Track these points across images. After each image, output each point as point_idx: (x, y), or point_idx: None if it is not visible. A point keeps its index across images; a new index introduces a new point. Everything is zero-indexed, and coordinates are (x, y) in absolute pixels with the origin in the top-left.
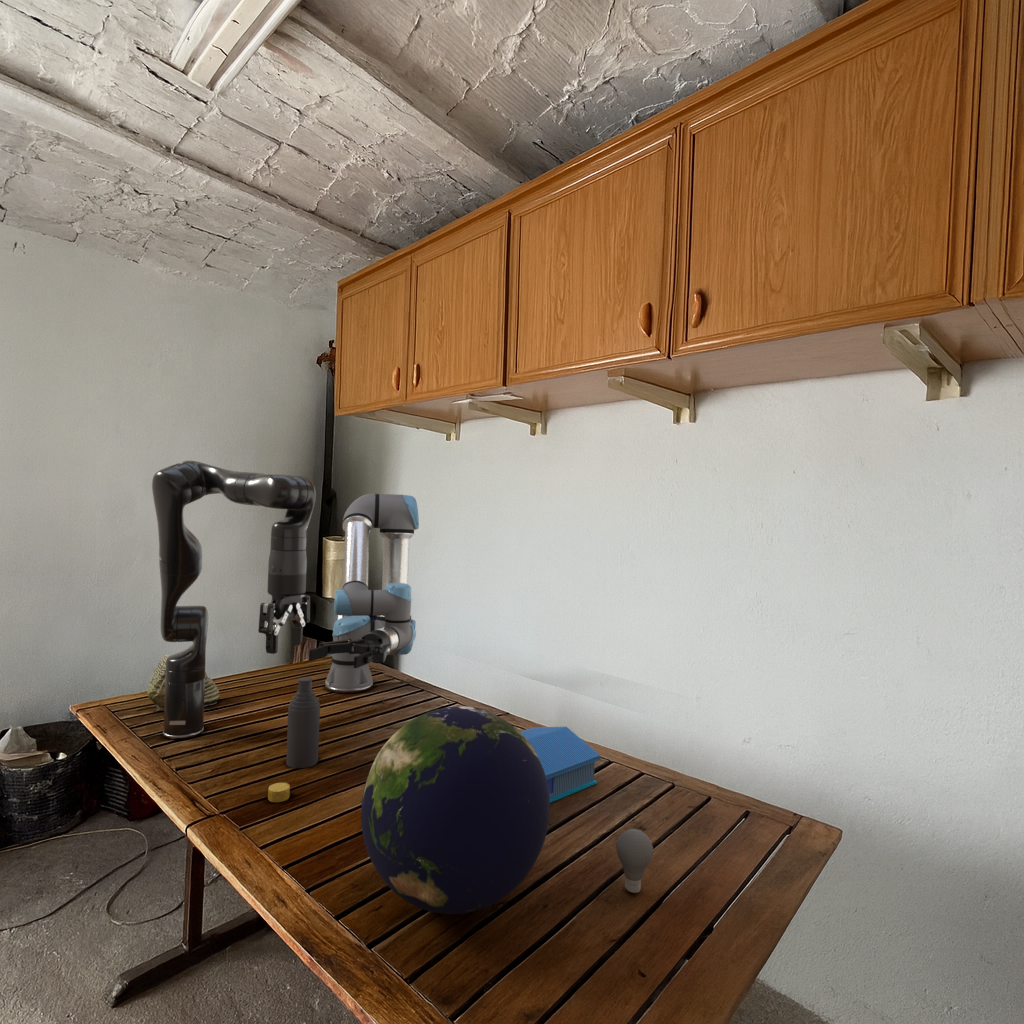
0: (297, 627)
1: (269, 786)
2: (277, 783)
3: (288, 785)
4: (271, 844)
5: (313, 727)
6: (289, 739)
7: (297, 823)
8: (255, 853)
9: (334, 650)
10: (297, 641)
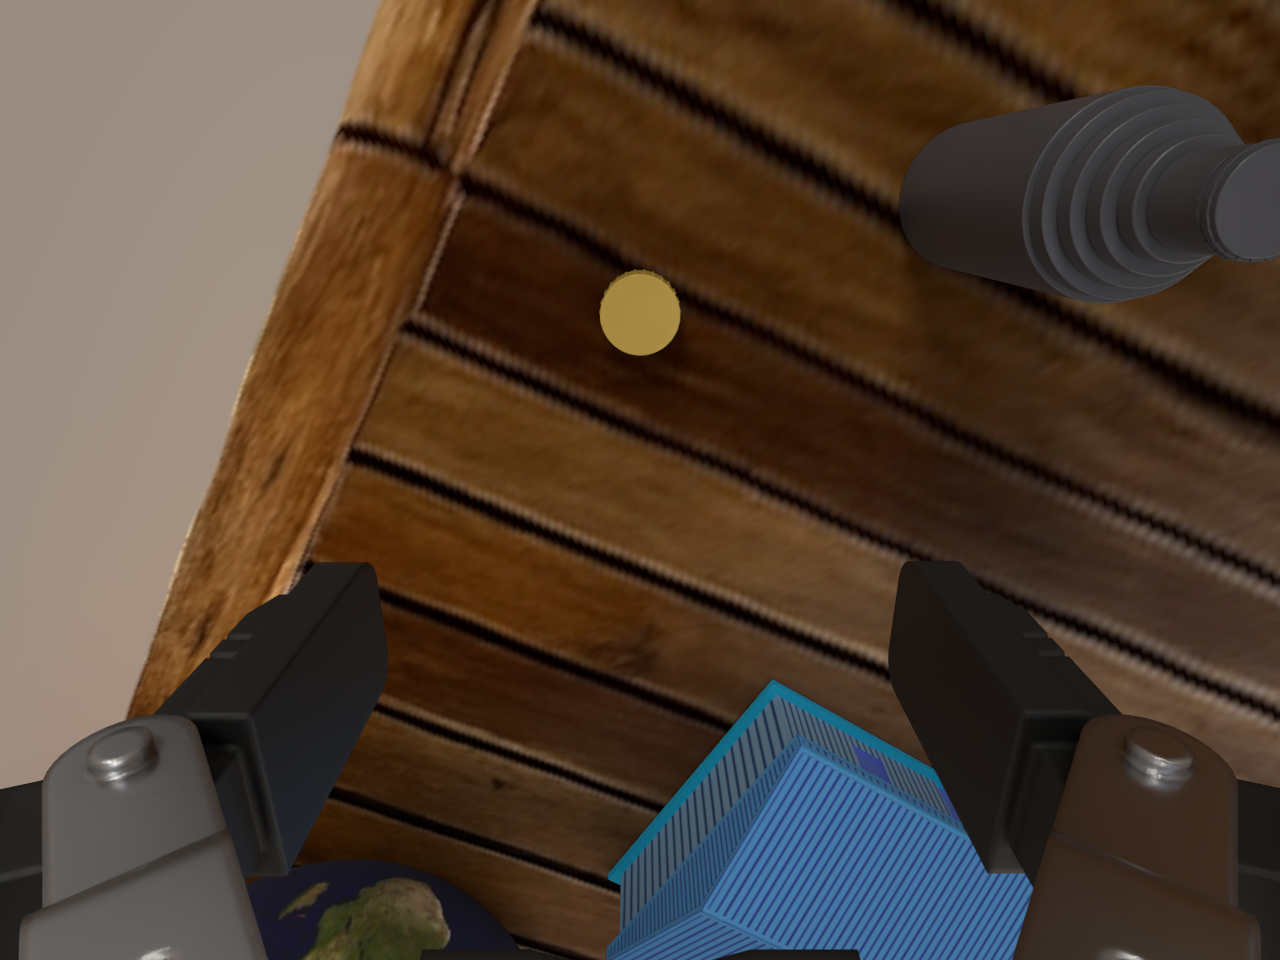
0: (1021, 811)
1: (631, 275)
2: (664, 289)
3: (664, 341)
4: (379, 470)
5: (1017, 284)
6: (959, 161)
7: (513, 471)
8: (321, 458)
9: None
10: (907, 666)
